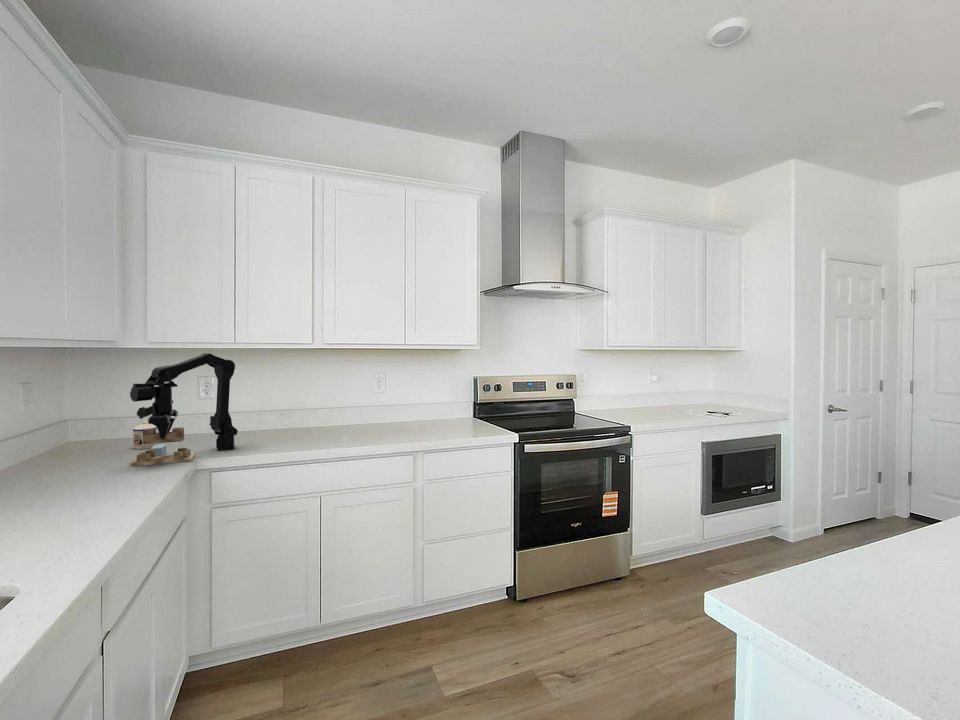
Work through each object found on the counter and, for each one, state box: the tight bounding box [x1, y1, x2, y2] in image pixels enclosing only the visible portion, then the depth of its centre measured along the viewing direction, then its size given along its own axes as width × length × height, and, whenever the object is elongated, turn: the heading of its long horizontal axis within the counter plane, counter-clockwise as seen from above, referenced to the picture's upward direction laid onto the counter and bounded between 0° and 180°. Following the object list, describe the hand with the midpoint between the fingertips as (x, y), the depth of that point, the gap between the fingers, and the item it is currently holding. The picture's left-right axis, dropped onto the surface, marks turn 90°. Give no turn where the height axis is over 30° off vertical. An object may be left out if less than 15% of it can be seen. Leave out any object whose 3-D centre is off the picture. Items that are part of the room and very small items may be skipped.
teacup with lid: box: [132, 420, 158, 450], centre depth 208 cm, size 12×9×12 cm
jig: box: [129, 447, 197, 467], centre depth 185 cm, size 20×9×4 cm, turn 112°
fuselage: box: [143, 426, 185, 444], centre depth 185 cm, size 13×4×5 cm, turn 112°
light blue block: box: [149, 443, 167, 456], centre depth 194 cm, size 4×8×4 cm, turn 22°
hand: (164, 437), depth 185 cm, fingers closed on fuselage, 4 cm apart
